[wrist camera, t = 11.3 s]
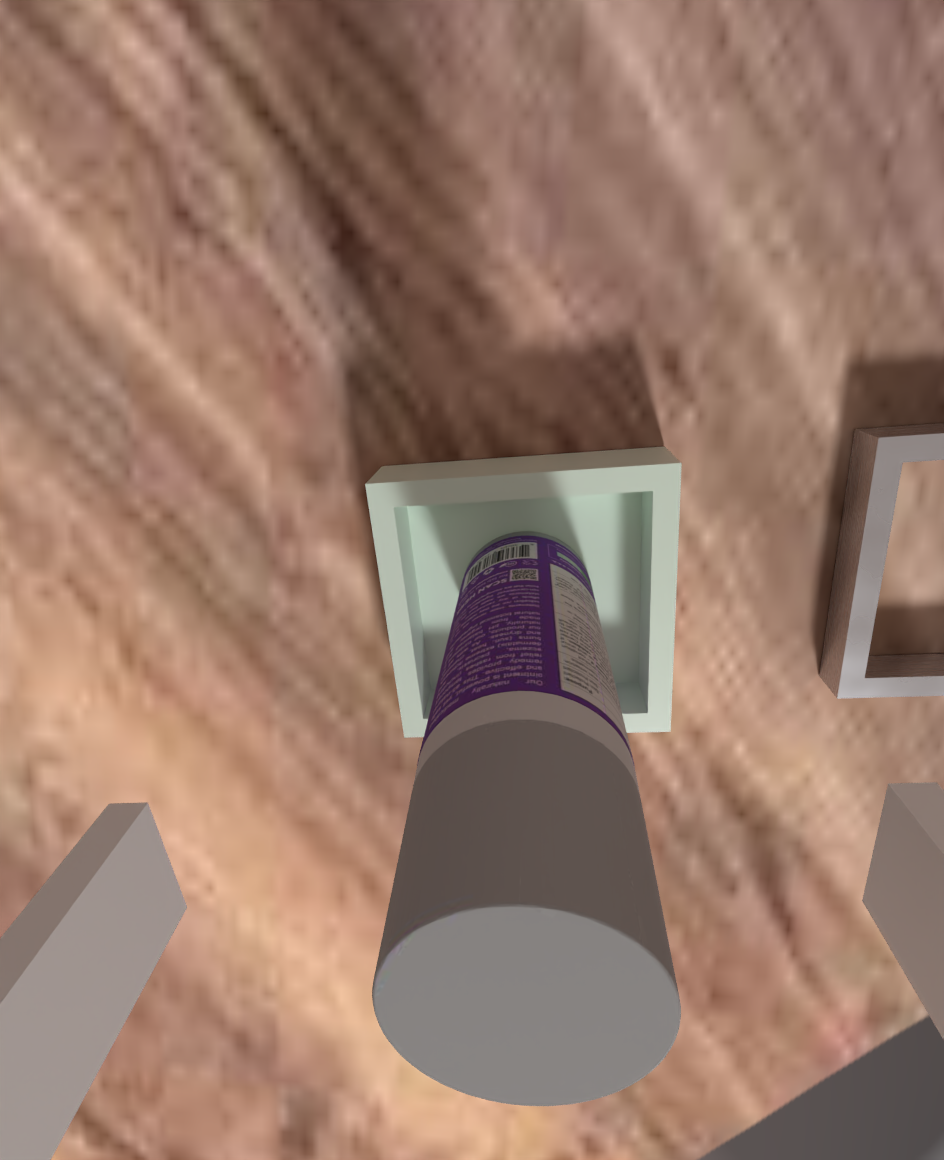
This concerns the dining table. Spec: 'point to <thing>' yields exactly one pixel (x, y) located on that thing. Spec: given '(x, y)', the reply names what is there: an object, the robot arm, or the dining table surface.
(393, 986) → the container
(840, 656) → the collar
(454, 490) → the tray
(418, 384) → the dining table surface
